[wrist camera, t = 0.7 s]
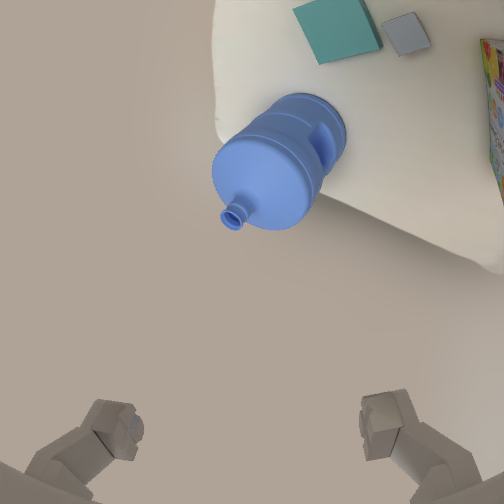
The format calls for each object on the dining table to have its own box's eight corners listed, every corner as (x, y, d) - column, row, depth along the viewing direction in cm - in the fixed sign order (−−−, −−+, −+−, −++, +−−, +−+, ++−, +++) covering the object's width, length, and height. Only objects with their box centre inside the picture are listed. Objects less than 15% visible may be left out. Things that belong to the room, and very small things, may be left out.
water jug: (260, 142, 63) (177, 227, 47) (282, 78, 50) (185, 146, 34) (327, 178, 62) (267, 281, 46) (361, 118, 49) (307, 213, 33)
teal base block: (303, 7, 39) (292, 9, 36) (359, -10, 33) (352, -12, 30) (327, 59, 44) (319, 64, 41) (383, 45, 38) (379, 49, 35)
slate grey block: (386, 21, 34) (380, 24, 30) (414, 11, 31) (413, 12, 26) (402, 49, 36) (398, 56, 32) (429, 40, 33) (431, 46, 28)
